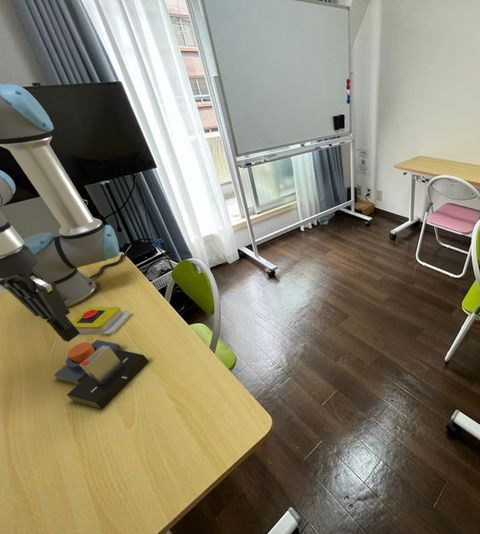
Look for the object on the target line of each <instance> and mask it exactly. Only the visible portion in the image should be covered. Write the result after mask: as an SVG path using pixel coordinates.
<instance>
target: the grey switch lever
mask: <svg viewBox="0 0 480 534" xmlns="http://www.w3.org/2000/svg"><path fill="white" fill-rule="evenodd" d="M80 366H81V367H82V368H83V370H84V371H85V372H86V373H87V374H88V375H89V376H90V377H91V378H92V379H93V380H94V382H95V383H96V384H100V385H104V384H105V383H106V382H107V381H108V380H109V379H110V378H111V377H112V376H113V375H114V374H115V373H116V372H117V371H118V370H119V369H120V368H121V367H123V366H124V365H123V364H122V362H121V361H120V360H119V359H118V357H117V356H116V355H115V353H114V352H113V351H112V350H111V348H110V347H109V346H104V345H102V346H101V347H100V348H99V349H98V350H96V351H95V352H94V353H93V354H92V355H90V356H89V357H88V358H87V359H86V360H84V361H83V362H81V363H80Z"/></svg>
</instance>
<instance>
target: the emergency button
mask: <svg viewBox="0 0 480 534" xmlns="http://www.w3.org/2000/svg"><path fill="white" fill-rule="evenodd" d="M130 316H131V313H130V312H129V311H123V310H122V309H121V308H120V307H119V306H88V307H87V308H85V309H84V310H83V311H81V312H80V313H79V314H78V315H77V316H76V317H75V318H73V319H72V320H70V321H71V323H72V324H73V325H74V326H75V328H76V329H77V330H78V331H79V332H80V334H79V335H100V336H103V335H105V336H107V335H108V336H109V335H112V334H114V333H115V332H117V330H118V329H119V328H120V327H121V326H122V325H123V324H124V323H125V322H126V321H127V319H128V318H129V317H130Z"/></svg>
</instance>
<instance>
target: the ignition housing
mask: <svg viewBox="0 0 480 534" xmlns="http://www.w3.org/2000/svg"><path fill="white" fill-rule="evenodd" d="M90 344H91V345H92V347H93V348H94V349H95V351H96V350H98V349H99V348H100V347H101V346H102V345H104V346H109V347H110V348H111V350H112V351H113V352H115V351H117V350H122V349H123V348H122V347H121V346H120V344H118V343H114V342H109V341H105V340H99V339H95V340H94V341H93V342H92V343H90ZM80 363H81V362H78V363H76V362H74V361H73V360H72V359H71V358H70V357H69V356H68V355H67V358H66V360H65V364H64V365H63V366H62V367H61V368H60V369H58V371H56V372H55V373H53V375H54V377H56V379H58V380H60V381H64V382H68V383H71V384H75V385H78V384H79V383H81V382H82V381H83V380H84V379H85V378H86V377H87V376H88V374H87V373H86V372H85V371H84V370H83V368H82V367H81V366H80Z"/></svg>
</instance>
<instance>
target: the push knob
mask: <svg viewBox="0 0 480 534" xmlns="http://www.w3.org/2000/svg"><path fill="white" fill-rule="evenodd" d="M91 344H92V343H90V342H88V341H85V342H80V343H77V344H75V345H74V346H73V347H71V348H70V349H69V350H68V353H67V357H68V356H69V357H70V358H71V359H72V360H73V361H74V362H76V363H78V362H83V361H84V360H86V359H87V358H88V357H89V356H90V355H92V354H93V353H94V352H95V349H94V348H93V347H92V345H91Z"/></svg>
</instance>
